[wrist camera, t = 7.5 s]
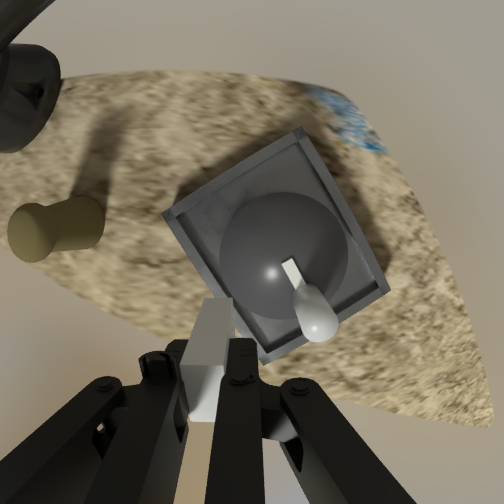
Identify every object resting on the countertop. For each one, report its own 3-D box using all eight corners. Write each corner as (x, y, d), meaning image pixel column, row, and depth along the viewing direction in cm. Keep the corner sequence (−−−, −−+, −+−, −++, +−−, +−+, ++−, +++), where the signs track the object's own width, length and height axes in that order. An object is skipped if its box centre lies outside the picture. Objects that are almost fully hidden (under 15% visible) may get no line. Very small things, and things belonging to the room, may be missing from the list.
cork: (91, 185, 30) (28, 184, 19) (112, 234, 31) (54, 252, 20) (55, 212, 30) (-9, 221, 19) (75, 257, 31) (15, 282, 20)
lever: (201, 229, 28) (177, 244, 19) (305, 171, 27) (328, 160, 18) (259, 326, 30) (260, 375, 21) (357, 273, 29) (395, 303, 20)
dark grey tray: (169, 212, 30) (161, 213, 27) (296, 133, 29) (301, 126, 26) (262, 351, 33) (263, 365, 30) (380, 282, 31) (391, 290, 28)
